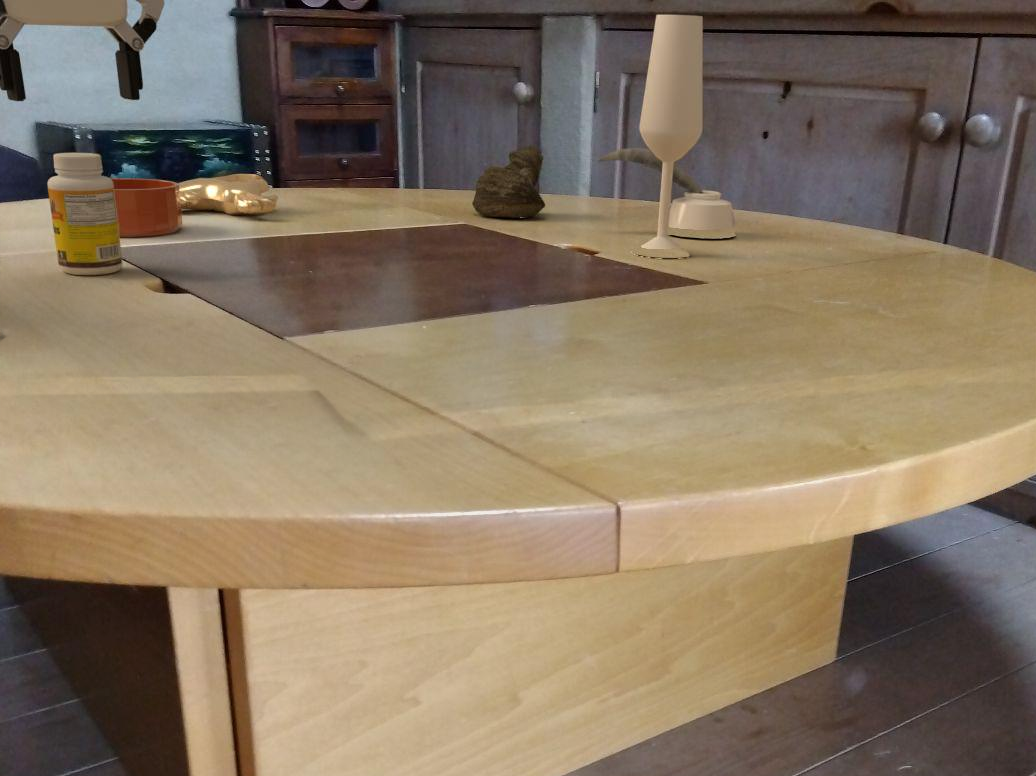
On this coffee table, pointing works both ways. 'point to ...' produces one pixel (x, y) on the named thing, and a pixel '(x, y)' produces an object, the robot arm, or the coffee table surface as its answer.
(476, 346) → the coffee table surface
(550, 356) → the coffee table surface
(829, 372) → the coffee table surface
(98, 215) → the supplement bottle
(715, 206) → the inkwell
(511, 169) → the brown irregular lump
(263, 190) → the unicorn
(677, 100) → the champagne flute
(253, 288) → the coffee table surface
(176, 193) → the bowl
